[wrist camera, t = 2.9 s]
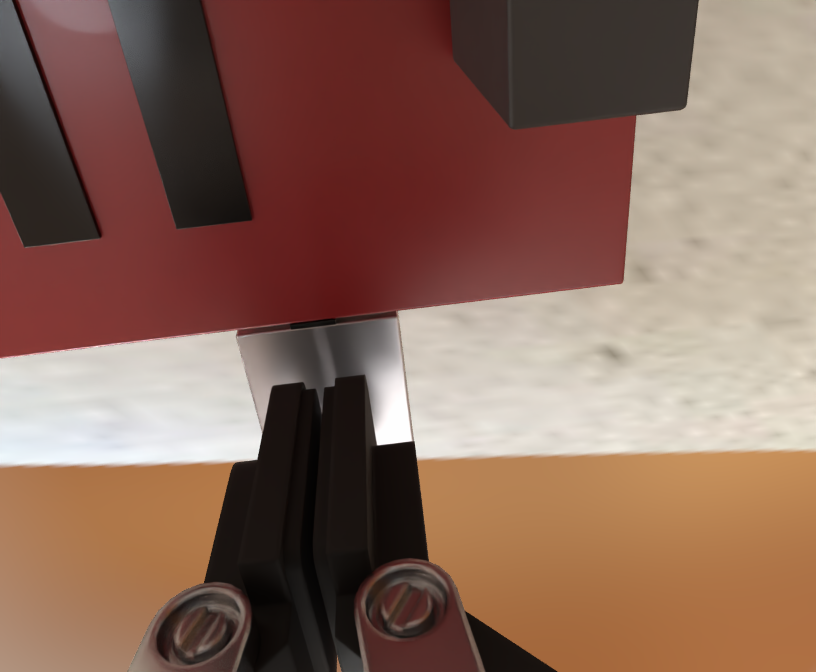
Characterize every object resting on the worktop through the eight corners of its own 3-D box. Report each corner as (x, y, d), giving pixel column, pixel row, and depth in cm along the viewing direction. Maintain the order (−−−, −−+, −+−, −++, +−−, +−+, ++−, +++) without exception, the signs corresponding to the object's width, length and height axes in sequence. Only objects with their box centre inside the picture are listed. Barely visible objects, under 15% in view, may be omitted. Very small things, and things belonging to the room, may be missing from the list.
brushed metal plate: (243, 304, 13) (234, 336, 12) (395, 286, 13) (398, 316, 12) (280, 444, 15) (274, 481, 14) (412, 428, 15) (416, 464, 14)
